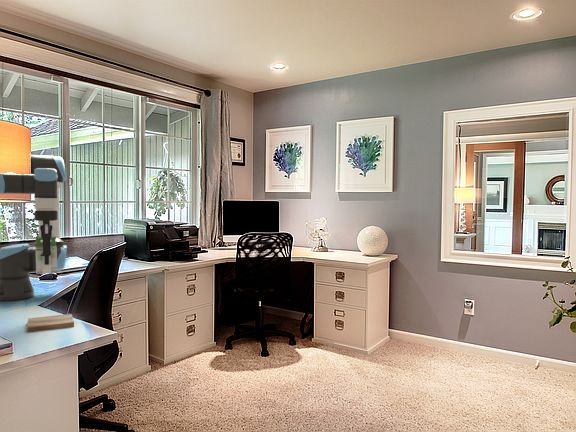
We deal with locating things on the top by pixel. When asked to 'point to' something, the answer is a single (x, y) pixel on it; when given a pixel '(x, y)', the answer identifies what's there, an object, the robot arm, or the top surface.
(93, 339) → the top surface
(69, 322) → the board
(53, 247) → the ink box
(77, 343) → the top surface
